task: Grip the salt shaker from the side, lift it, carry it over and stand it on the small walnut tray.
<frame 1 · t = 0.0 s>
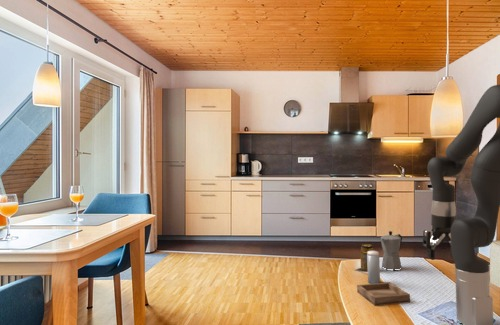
hand: (442, 258, 128), 17 cm above the table, tool pointing down, fingers open, 8 cm apart
condiment: (366, 270, 173), on the table
coffeepot: (393, 268, 176), on the table
salt shaker: (374, 282, 156), on the table
tray: (382, 296, 139), on the table
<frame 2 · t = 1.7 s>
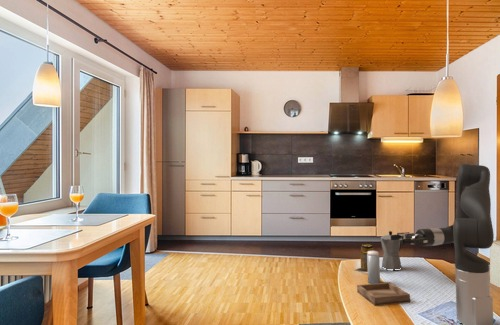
hand: (396, 239, 158), 18 cm above the table, tool horizontal, fingers open, 8 cm apart
nothing on the table moved.
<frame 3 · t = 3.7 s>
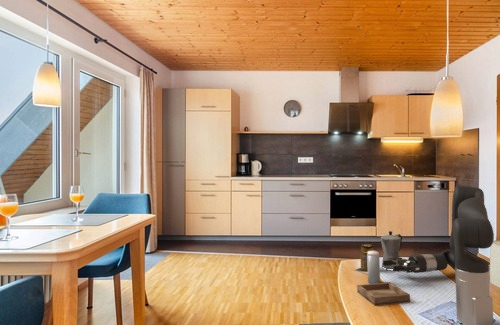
hand: (388, 266, 157), 7 cm above the table, tool horizontal, fingers open, 8 cm apart
nothing on the table moved.
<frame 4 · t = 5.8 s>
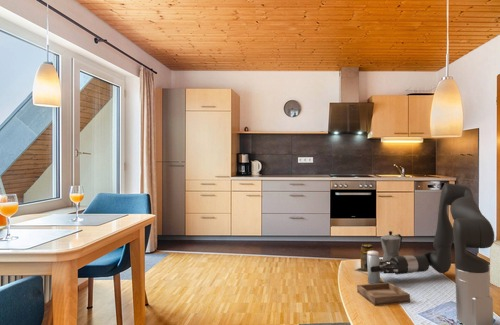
hand: (367, 267, 155), 7 cm above the table, tool horizontal, fingers closed on salt shaker, 5 cm apart
salt shaker: (374, 282, 156), on the table, touching gripper
everything else where it was.
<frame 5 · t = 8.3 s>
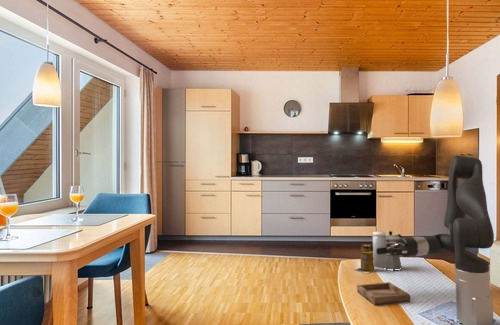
hand: (373, 249, 141), 18 cm above the table, tool horizontal, fingers closed on salt shaker, 5 cm apart
salt shaker: (380, 266, 141), point 11 cm above the table, touching gripper
everything else where it was.
when the fingers open (9 cm above the table, at t = 10.7 s): salt shaker drops 1 cm, resting on tray.
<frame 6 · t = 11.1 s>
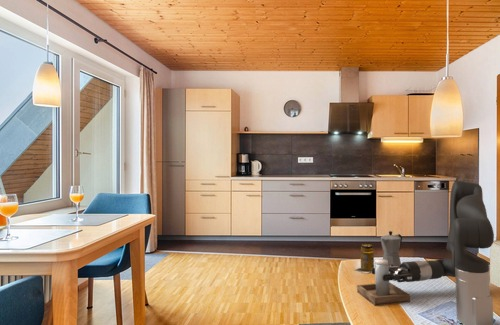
hand: (377, 274, 139), 9 cm above the table, tool horizontal, fingers open, 8 cm apart
salt shaker: (382, 294, 139), point 1 cm above the table, touching tray
everything else where it was.
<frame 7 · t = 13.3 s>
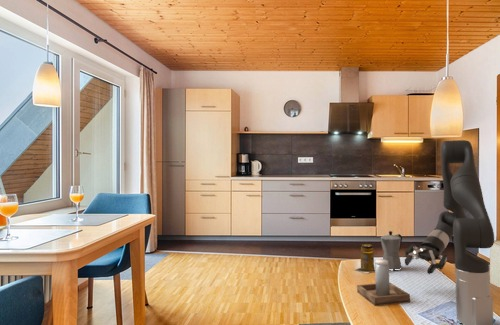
hand: (417, 267, 138), 11 cm above the table, tool tilted 65°, fingers open, 8 cm apart
nothing on the table moved.
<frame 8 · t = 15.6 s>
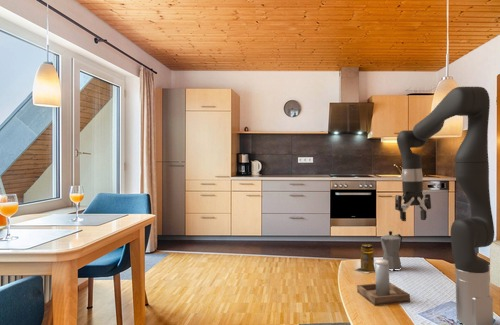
hand: (413, 220, 145), 28 cm above the table, tool pointing down, fingers open, 8 cm apart
nothing on the table moved.
at the end: salt shaker inside the target area on the tray (0.1 cm from its centre), point 0.8 cm above the tray's base; salt shaker tilted 0°; the gripper is holding nothing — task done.
